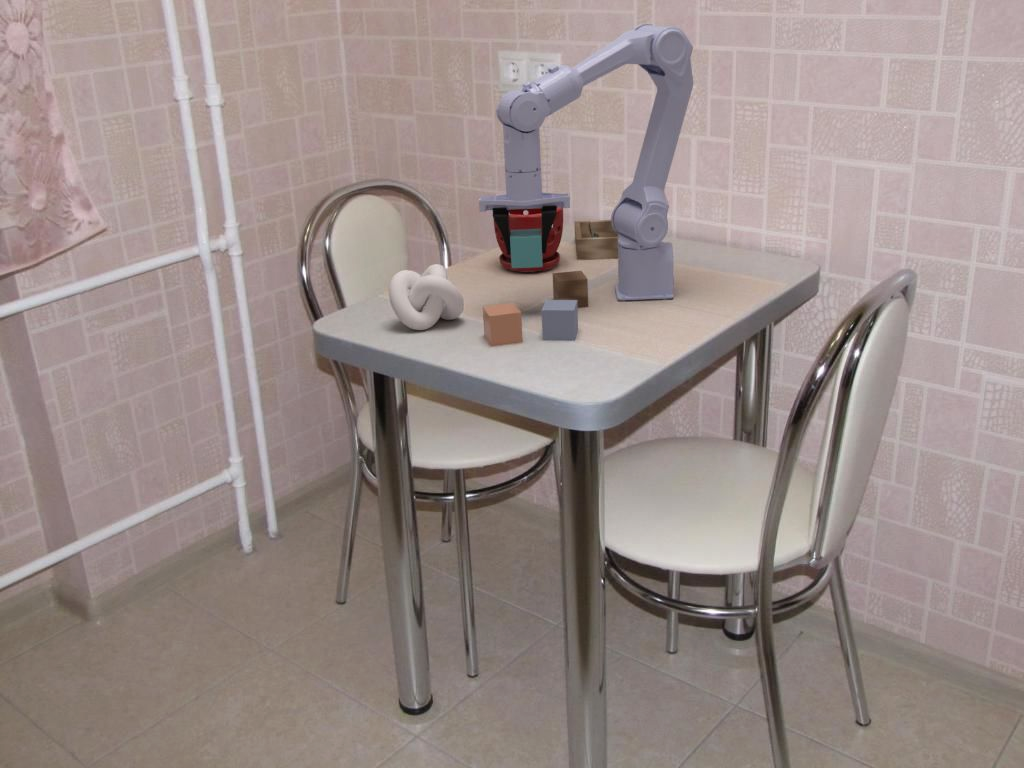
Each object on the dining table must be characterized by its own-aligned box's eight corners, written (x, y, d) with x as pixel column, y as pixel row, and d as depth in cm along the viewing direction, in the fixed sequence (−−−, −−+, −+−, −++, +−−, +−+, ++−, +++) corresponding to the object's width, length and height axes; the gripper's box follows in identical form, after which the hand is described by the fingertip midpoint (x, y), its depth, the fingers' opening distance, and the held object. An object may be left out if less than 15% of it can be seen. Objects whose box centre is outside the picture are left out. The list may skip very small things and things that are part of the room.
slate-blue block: (578, 329, 169) (577, 300, 167) (574, 341, 164) (573, 310, 162) (546, 329, 170) (545, 299, 168) (542, 340, 165) (541, 310, 163)
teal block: (542, 258, 176) (541, 228, 174) (542, 267, 171) (541, 236, 169) (512, 259, 176) (510, 230, 174) (511, 268, 172) (510, 238, 170)
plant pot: (482, 267, 203) (478, 205, 198) (533, 253, 211) (531, 193, 206) (527, 281, 194) (524, 216, 189) (579, 265, 201) (577, 203, 197)
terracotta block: (514, 332, 169) (513, 302, 167) (522, 342, 165) (521, 312, 163) (484, 336, 168) (482, 306, 166) (491, 346, 164) (489, 316, 162)
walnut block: (581, 298, 183) (581, 270, 181) (588, 307, 179) (587, 278, 177) (553, 301, 183) (552, 273, 181) (559, 310, 178) (558, 281, 176)
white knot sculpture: (478, 313, 178) (475, 262, 175) (447, 338, 168) (443, 284, 165) (418, 308, 182) (413, 258, 179) (384, 332, 172) (379, 279, 169)
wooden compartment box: (643, 237, 217) (643, 218, 215) (650, 257, 204) (650, 236, 202) (575, 240, 217) (574, 221, 216) (577, 259, 204) (576, 239, 203)
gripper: (568, 162, 171) (570, 244, 177) (478, 166, 172) (483, 247, 177) (569, 171, 165) (571, 255, 170) (476, 175, 165) (481, 259, 171)
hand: (526, 252), depth 173 cm, fingers closed on teal block, 5 cm apart
